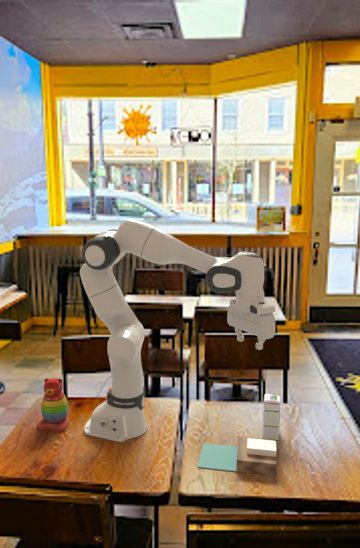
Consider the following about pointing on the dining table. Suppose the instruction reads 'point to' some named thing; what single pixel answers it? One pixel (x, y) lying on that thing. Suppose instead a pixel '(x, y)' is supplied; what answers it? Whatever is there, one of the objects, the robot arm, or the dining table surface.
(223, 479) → the dining table surface
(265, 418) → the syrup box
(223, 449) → the mat
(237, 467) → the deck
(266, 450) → the cream rectangular block
